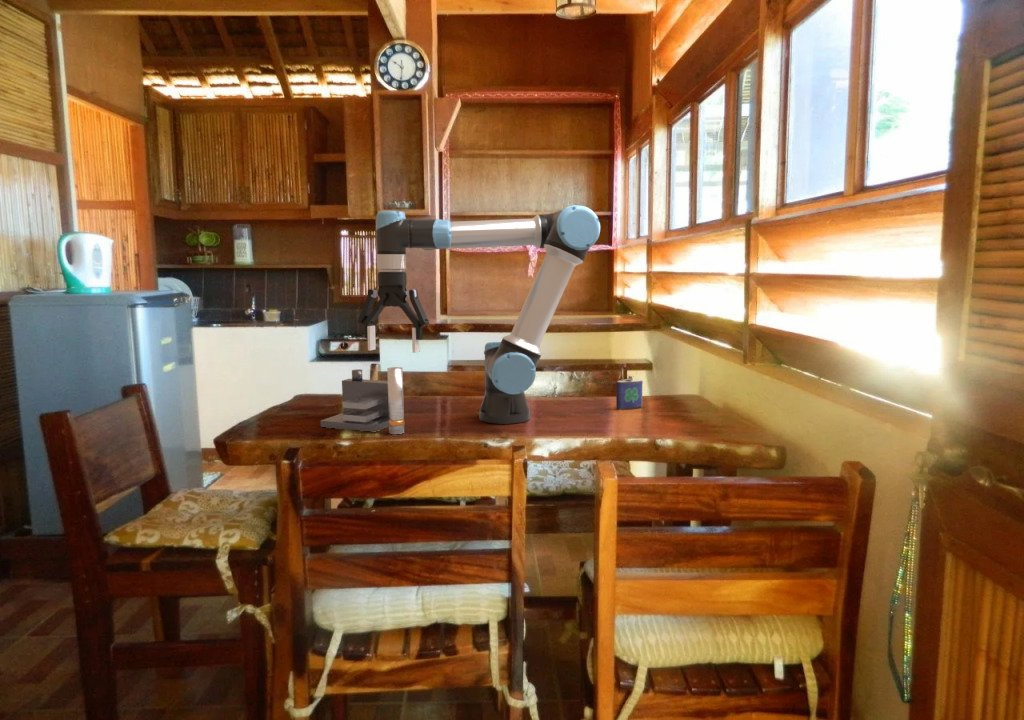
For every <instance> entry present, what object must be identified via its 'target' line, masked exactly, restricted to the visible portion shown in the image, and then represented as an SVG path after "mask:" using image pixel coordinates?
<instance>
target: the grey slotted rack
mask: <svg viewBox="0 0 1024 720" xmlns="http://www.w3.org/2000/svg"><path fill="white" fill-rule="evenodd" d="M341 392H342V393H341V395H342V402H341V404H342V405H341V406H342V412H341V413H339V414H336V415H333V416H329V417H326V418H324V419H321V420H320V428H321V427H326V428H325V429H331V428H335V429H334V430H342V429H346V430H345V431H352V430H361V431H360V432H363V431H378V430H380V429H383V428H385V427H388V426H389V406H388V380H380V379H378V380H377V379H363V369H352V370H351V378H347V379H343V380H341ZM388 428H389V427H388ZM383 430H384V429H383Z"/></svg>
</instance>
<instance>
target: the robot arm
mask: <svg viewBox="0 0 1024 720" xmlns="http://www.w3.org/2000/svg"><path fill="white" fill-rule="evenodd" d="M375 221H376V222H375V223H376V224H375V225H376V227H375V235H376V263H377V264H376V266H377V267H376V269H377V270H378V272H377V285H378V288H377V289H376V288H369V289H367V295H366V297H367V298H366V300H365V302H364V305H363V306H362V310H361V311H360V314H359V318H358V319H357V323H358V324H361V325H363V326H364V336H365V338H366V339H367V351H369V352H370V351H375V350H377V345H376V341H377V338H376V325H374V323H375V322H376V320H377V319H378V317H379V316H380V314H381V313H383V311H384V309H385V308H386V307H394V308H395V307H396V308H397V307H399V309H401V310H402V312H403V313H404V314H405V315H406V317H407V318H408V320H410V322H411V323H412V324H413V327H411V334H412V338H411V339H412V340H411V341H412V342H411V343H412V344H411V345H412V353H413V354H415V353H419V352H421V340H423V327H425V326H427V325H430V321H429V318H428V316H427V314H426V312H425V310H424V307H423V305H422V303H421V301H420V298H419V294H418V290H417V289H409V290H407V280H408V279H407V272H406V271H405V270H407V256H406V255H407V249H422V250H424V251H433V250H446V249H447V250H448V249H449V250H450V249H466V248H467V249H468V248H469V249H471V248H472V249H473V248H493V247H494V248H495V247H516V246H517V247H520V246H521V247H522V246H523V247H524V246H534V247H535V248H536V249H545V256H544V258H543V260H542V263H541V265H540V266H539V270H538V271H537V273H536V276H535V278H534V280H533V283H532V285H531V287H530V289H529V292H528V294H527V296H526V298H525V301H524V303H523V305H522V308H521V310H520V312H519V313H518V316H517V319H516V321H515V323H514V326H513V328H512V329H511V330H512V331H511V332H510V333H509V334H508V335H505V336H503V337H502V339H501V341H494V342H493V341H491V342H487V343H485V345H484V351H483V355H484V395H483V398H482V402H481V406H480V409H479V415H478V416H479V417H478V418H479V420H480V421H482V422H485V423H488V424H498V425H499V424H502V425H503V424H504V425H505V424H506V425H509V424H518V423H519V424H520V423H524V422H527V421H529V420H530V419H531V409H530V406H529V403H528V400H527V398H526V394H525V392H526V391H527V390H528V389H530V388H531V387H532V385H533V384H534V381H535V380H536V375H537V369H536V368H537V366H538V364H539V362H540V358H541V357H542V355H543V353H542V351H541V349H540V345H541V343H542V342H543V340H544V337H545V335H546V332H547V330H548V328H549V326H550V323H551V321H552V319H553V317H554V314H555V313H556V310H557V308H558V305H559V303H560V301H561V298H562V297H563V294H564V292H565V290H566V287H567V285H568V283H569V281H570V278H571V276H572V274H573V272H574V270H575V268H576V267H577V266H579V265H581V264H583V263H584V261H585V260H586V257H587V255H588V253H589V250H590V248H592V247H593V246H595V244H596V242H597V241H598V239H599V237H600V232H601V223H600V220H599V216H598V215H597V214H596V213H595V212H594V210H592V209H591V208H589V207H587V206H585V205H577V204H573V205H569V206H567V207H565V208H563V209H561V210H557V211H555V212H551V213H545V214H536V215H535V216H534V217H533V218H516V219H515V218H512V219H486V220H464V221H463V220H461V221H450V220H448V219H440V218H436V219H435V218H434V219H429V218H428V219H426V218H425V219H424V218H422V219H409V218H406V213H405V212H404V211H400V210H381V211H379V212H378V213H377V214H376V219H375ZM377 297H378V298H379V299H378V301H377V302H376V298H377ZM407 297H408V298H409V301H410V303H411V305H412V307H413V309H412V307H411V306H410V303H409V302H408V301H407V299H406V298H407ZM375 302H376V305H375V306H374V304H375ZM373 306H374V308H373Z"/></svg>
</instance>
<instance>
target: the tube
mask: <svg viewBox="0 0 1024 720" xmlns="http://www.w3.org/2000/svg"><path fill="white" fill-rule="evenodd" d="M386 371H387V381H388V406H389V427H388V430H389V432H388V433H391V434H402V433H404V434H405V415H404V414H405V411H404V380H403V379H404V376H403V373H404V371H403V367H401V366H400V367H398V366H397V367H395V366H393V367H387V370H386Z"/></svg>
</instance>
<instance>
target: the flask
mask: <svg viewBox="0 0 1024 720" xmlns="http://www.w3.org/2000/svg"><path fill="white" fill-rule="evenodd" d="M633 378H634V376H633V375H632V374H631V375H630V374H629V375H628V377H627V378H626V379H625V378H624V379H620V380H618V381H616V386H615V387H616V389H615V390H616V391H615V392H616V394H615V395H616V398H615V399H616V405H615V406H616V407H615V408H616V410H617V411H625V410H634V409H635V410H636V409H637V410H638V409H642V408H643V382H644V381H643V379H633Z"/></svg>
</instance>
